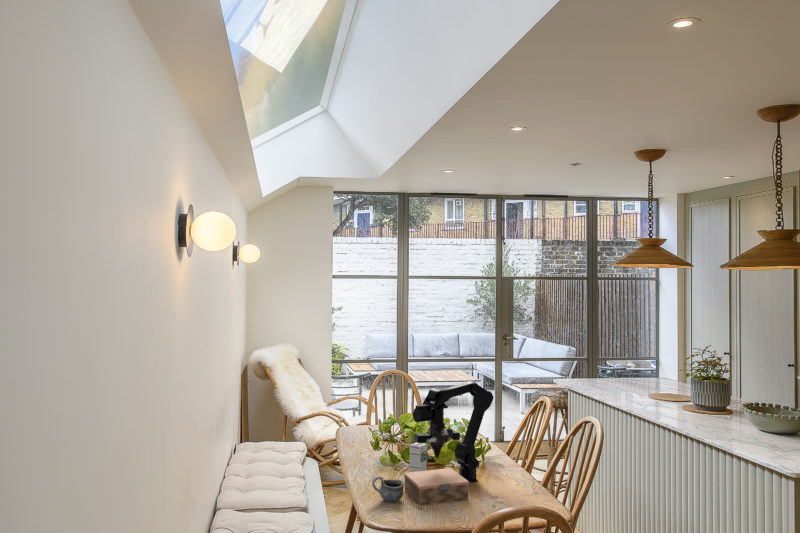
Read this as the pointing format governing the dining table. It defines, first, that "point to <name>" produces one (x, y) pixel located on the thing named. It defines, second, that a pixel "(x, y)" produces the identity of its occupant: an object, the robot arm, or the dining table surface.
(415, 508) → the dining table surface
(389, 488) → the mug
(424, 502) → the crate
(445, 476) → the lid
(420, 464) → the syrup box
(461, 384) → the robot arm
